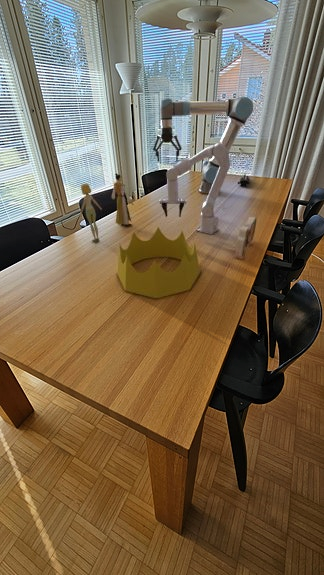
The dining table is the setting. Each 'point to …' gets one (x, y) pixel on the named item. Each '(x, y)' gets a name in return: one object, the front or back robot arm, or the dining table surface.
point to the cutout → (245, 236)
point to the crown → (155, 278)
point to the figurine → (121, 203)
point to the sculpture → (90, 209)
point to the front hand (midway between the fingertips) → (173, 216)
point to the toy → (244, 181)
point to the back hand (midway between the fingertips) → (167, 161)
